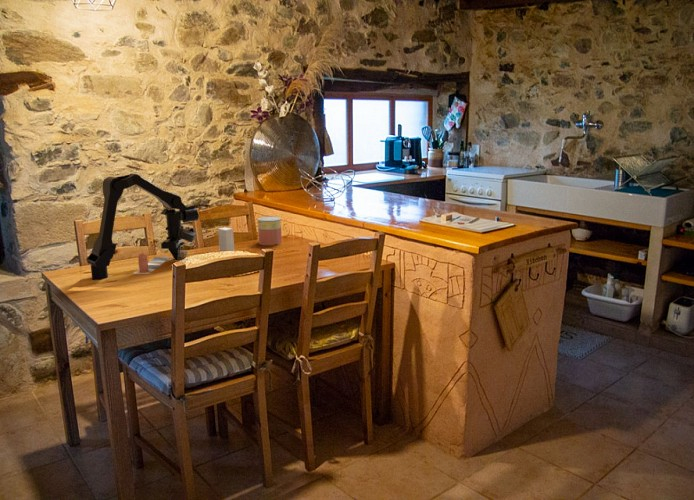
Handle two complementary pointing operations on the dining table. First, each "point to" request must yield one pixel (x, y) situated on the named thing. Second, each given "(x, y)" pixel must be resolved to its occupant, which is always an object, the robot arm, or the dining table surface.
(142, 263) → the pink upright cylinder
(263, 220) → the canned food
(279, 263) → the dining table surface
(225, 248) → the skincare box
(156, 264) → the track board
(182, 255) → the die
